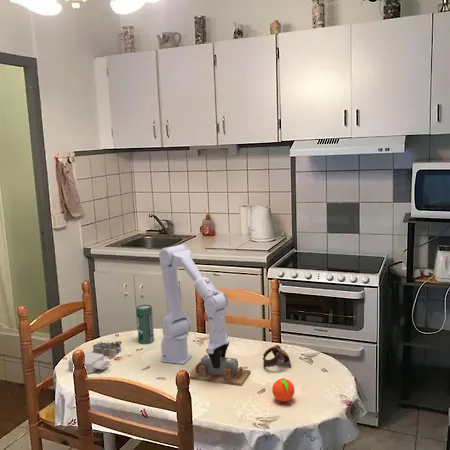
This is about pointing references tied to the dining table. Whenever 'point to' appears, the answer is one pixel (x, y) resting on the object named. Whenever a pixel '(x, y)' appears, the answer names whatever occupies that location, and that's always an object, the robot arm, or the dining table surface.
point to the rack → (227, 378)
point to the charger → (92, 362)
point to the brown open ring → (276, 356)
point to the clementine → (283, 390)
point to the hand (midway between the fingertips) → (218, 365)
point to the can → (145, 324)
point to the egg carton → (107, 348)
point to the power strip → (224, 363)
